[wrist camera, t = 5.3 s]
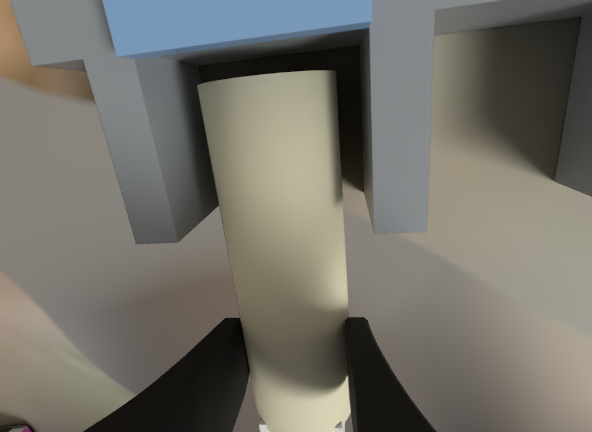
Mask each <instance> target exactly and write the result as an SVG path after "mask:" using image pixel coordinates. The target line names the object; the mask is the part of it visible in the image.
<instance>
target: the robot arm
mask: <svg viewBox="0 0 592 432" xmlns="http://www.w3.org/2000/svg"><path fill="white" fill-rule="evenodd" d="M345 337H346V353H347V370H348V386H349V401H350V409H351V417H352V425H353V432H436V430H435V429H434V428H433V427H432V426H431V424H430V423H429V422H428V421H427V419H426V418H425V417H424V416H423V414H422V413H421V412H420V411H419V409H418V408H417V407H416V405H415V404H414V402H413V401H412V400H411V398H410V397H409V396H408V394H407V393H406V391H405V390H404V388H403V387H402V385H401V384H400V382H399V381H398V379H397V378H396V376H395V374H394V373H393V371H392V370H391V368H390V366H389V364H388V363H387V361H386V359H385V358H384V356H383V354H382V352H381V351H380V348H379V347H378V345H377V343H376V340H375V338H374V336H373V334H372V332H371V329H370V326H369V323H368V320H367V319H365V318H364V317H347V319H346V320H345ZM249 373H250V368H249V363H248V358H247V352H246V347H245V341H244V336H243V331H242V325H241V320H240V318H225V319H224V320H223V321H222V322H221V323H219V324H218V325H217V326H216V327H215V328H214V329H213V330H212V331H211V332H210V333H209V334H208V335H207V336H206V337H205V338H204V339H202V340H201V341H200V342H199V343H198V344H197V345H196V346H195V347H194V348H193V349H192V350H191V351H190V352H188V354H186V356H184V357H183V358H182V359H181V360H180V361H179V362H177V363H176V364H175V365H174V366H173V367H171V368H170V369H169V370H168V371H167V372H166V373H164V374H163V375H162V376H161V377H160V378H158V379H157V380H156V381H155V382H154V383H152V384H151V385H150V386H149V387H147V388H146V389H145V390H143V391H142V392H141V393H139V394H138V395H137V396H135V397H134V398H133V399H131V400H130V401H128V402H127V403H126V404H124V405H123V406H122V407H120V408H119V409H117V410H116V411H114V412H113V413H111V414H110V415H108V416H106V417H105V418H103V419H102V420H100V421H99V422H97V423H96V424H94V425H93V426H91V427H89V428H88V429H86V430H85V431H83V432H232V431H233V428H234V425H235V422H236V419H237V416H238V413H239V410H240V407H241V404H242V401H243V399H244V395H245V391H246V387H247V383H248V378H249Z"/></svg>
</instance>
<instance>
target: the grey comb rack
mask: <svg viewBox="0 0 592 432" xmlns="http://www.w3.org/2000/svg"><path fill="white" fill-rule="evenodd" d="M10 2H11V5H12V8H13V11H14V14H15V17H16V20H17V23H18V26H19V29H20V32H21V35H22V38H23V41H24V44H25V46H26V49H27V52H28V55H29V58H30V61H31V64H32V66H37V67H47V68H58V69H68V70H79V71H87V75H88V78H89V82H90V85H91V89H92V92H93V96H94V99H95V103H96V106H97V109H98V113H99V116H100V119H101V123H102V127H103V130H104V134H105V137H106V141H107V144H108V148H109V151H110V155H111V158H112V162H113V165H114V169H115V172H116V175H117V179H118V182H119V186H120V189H121V193H122V196H123V200H124V203H125V207H126V210H127V214H128V217H129V221H130V224H131V228H132V231H133V235H134V238H135V241H136V244H150V243H172V242H179V241H180V240H181V239H182V238H184V237H185V236H186V235H187V234H188V233H189V232H190V231H191V230H192V229H193V228H195V227H196V226H197V225H198V224H199V223H200V222H201V221H202V220H203V219H204V218H206V217H207V216H208V215H209V214H210V213H211V212H212V211H213V210H214V209H215V208H217V207H218V206H219V201H218V196H217V190H216V185H215V180H214V174H213V169H212V163H211V158H210V153H209V147H208V142H207V136H206V131H205V126H204V120H203V115H202V109H201V104H200V99H199V93H198V88H197V85H199V84H201V79H200V74H199V68H198V66H199V65H207V64H215V63H223V62H230V61H238V60H246V59H254V58H262V57H269V56H277V55H285V54H293V53H300V52H308V51H316V50H324V49H332V48H339V47H347V46H355V45H359V49H360V80H361V111H362V142H363V173H364V195H365V199H366V203H367V207H368V211H369V215H370V219H371V223H372V227H373V231H374V234H388V233H412V232H427V218H428V190H429V162H430V134H431V105H432V77H433V49H434V35H440V34H448V33H456V32H464V31H471V30H479V29H487V28H495V27H503V26H510V25H518V24H526V23H534V22H541V21H549V20H557V19H565V18H573V17H580V16H582V19H581V25H580V31H579V37H578V43H577V49H576V55H575V61H574V67H573V73H572V79H571V85H570V91H569V97H568V103H567V109H566V115H565V121H564V127H563V133H562V139H561V145H560V151H559V157H558V163H557V169H556V175H555V181H554V182H557V183H559V184H562V185H564V186H567V187H569V188H572V189H574V190H577V191H579V192H582V193H584V194H587V195H589V196H591V197H592V0H10Z"/></svg>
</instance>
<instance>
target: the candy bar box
mask: <svg viewBox="0 0 592 432" xmlns="http://www.w3.org/2000/svg"><path fill="white" fill-rule="evenodd" d="M0 432H32V430H31V429H30V428H29V427H28V426H9V427H0Z"/></svg>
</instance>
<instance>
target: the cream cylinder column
mask: <svg viewBox="0 0 592 432" xmlns="http://www.w3.org/2000/svg"><path fill="white" fill-rule="evenodd" d="M197 88H198V93H199V99H200V104H201V109H202V115H203V120H204V126H205V131H206V136H207V142H208V147H209V153H210V158H211V163H212V169H213V174H214V180H215V185H216V190H217V196H218V201H219V207H220V212H221V217H222V223H223V228H224V234H225V238H226V244H227V250H228V255H229V260H230V266H231V271H232V277H233V282H234V287H235V293H236V298H237V304H238V309H239V314H240V320H241V325H242V331H243V336H244V341H245V347H246V352H247V358H248V363H249V368H250V373H251V379H252V385H253V389H254V395H255V401H256V406H257V411H258V415H259V417H260V423H259V427H260V432H345V421H346V420H347V418H348V416H349V414H350V412H351V409H350V401H349V386H348V370H347V353H346V337H345V320H346V319H347V317H349V311H348V291H347V273H346V253H345V235H344V216H343V197H342V178H341V159H340V140H339V121H338V102H337V84H336V71H330V70H317V71H297V72H284V73H273V74H263V75H254V76H245V77H237V78H230V79H223V80H217V81H212V82H207V83H202V84H199V85H197Z"/></svg>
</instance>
